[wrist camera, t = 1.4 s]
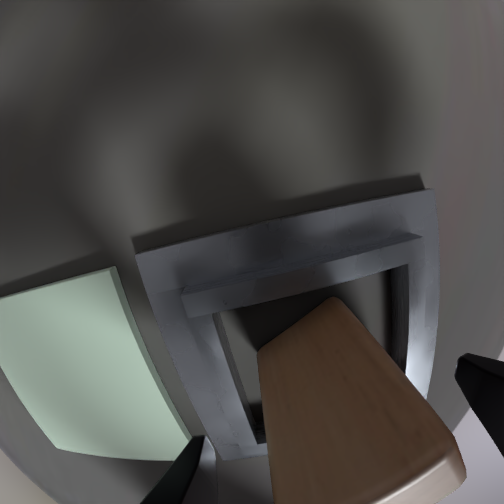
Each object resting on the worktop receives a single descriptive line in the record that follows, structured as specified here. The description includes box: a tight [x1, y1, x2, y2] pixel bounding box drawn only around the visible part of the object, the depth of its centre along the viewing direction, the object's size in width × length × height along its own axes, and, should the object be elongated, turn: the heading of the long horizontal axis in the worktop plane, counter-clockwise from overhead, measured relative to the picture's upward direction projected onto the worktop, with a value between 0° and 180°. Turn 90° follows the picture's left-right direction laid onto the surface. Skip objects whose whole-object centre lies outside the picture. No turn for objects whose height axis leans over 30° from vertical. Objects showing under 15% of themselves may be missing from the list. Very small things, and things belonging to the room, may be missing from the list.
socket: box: [135, 189, 440, 461], centre depth 10 cm, size 12×12×2 cm
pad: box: [0, 266, 192, 461], centre depth 11 cm, size 11×11×1 cm
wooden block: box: [257, 297, 466, 504], centre depth 7 cm, size 4×4×8 cm
